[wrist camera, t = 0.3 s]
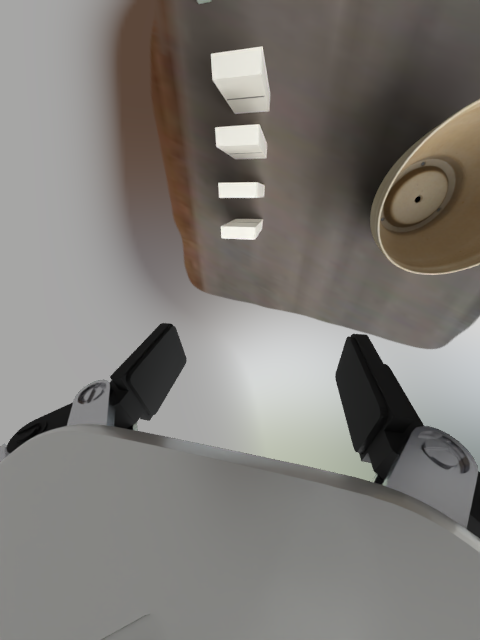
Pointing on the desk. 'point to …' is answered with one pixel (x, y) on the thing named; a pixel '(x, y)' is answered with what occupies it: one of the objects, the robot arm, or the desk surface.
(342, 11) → the desk surface
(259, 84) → the domino
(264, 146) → the domino
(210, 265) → the desk surface
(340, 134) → the desk surface
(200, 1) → the domino
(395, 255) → the planter bowl
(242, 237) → the domino
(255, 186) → the domino
